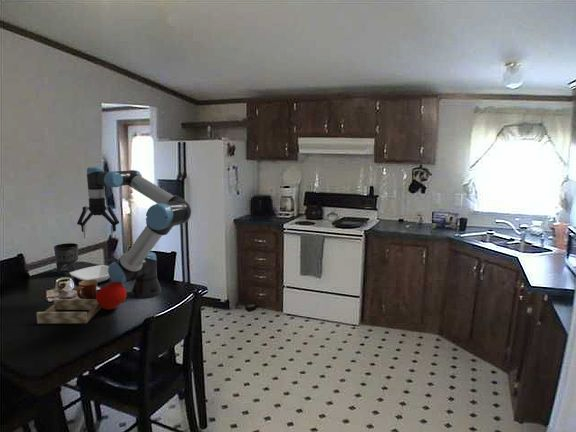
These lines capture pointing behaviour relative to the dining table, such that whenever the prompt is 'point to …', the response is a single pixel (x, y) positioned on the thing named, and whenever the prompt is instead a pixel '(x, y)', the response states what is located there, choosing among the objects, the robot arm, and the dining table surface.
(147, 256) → the robot arm
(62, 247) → the planter
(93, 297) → the mug
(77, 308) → the tan wooden shallow box
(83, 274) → the bowl
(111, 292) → the tomato
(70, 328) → the dining table surface
